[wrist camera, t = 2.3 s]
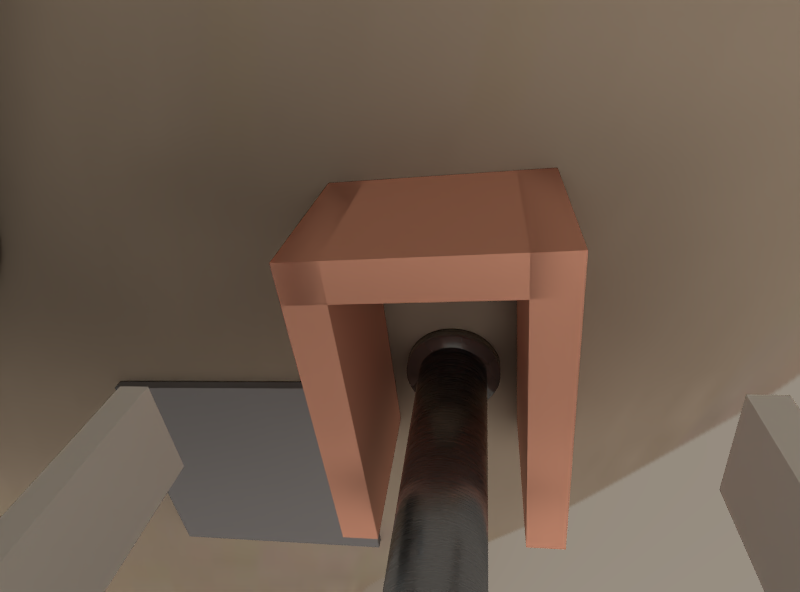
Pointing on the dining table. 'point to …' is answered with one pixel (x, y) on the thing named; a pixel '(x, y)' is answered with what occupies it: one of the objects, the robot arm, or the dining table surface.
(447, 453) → the stand
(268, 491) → the mat
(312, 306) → the c link
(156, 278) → the dining table surface
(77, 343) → the dining table surface
